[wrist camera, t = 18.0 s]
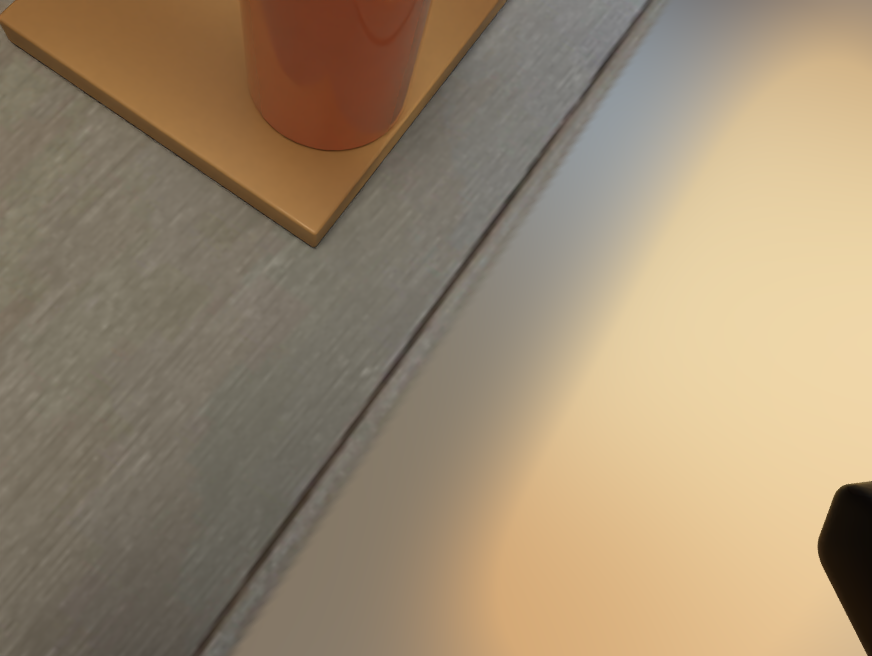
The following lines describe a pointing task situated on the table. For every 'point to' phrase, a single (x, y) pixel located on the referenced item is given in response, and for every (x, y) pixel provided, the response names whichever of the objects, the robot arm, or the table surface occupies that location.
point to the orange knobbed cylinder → (332, 66)
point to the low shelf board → (224, 93)
